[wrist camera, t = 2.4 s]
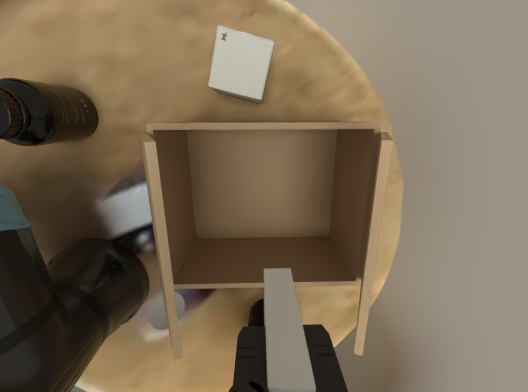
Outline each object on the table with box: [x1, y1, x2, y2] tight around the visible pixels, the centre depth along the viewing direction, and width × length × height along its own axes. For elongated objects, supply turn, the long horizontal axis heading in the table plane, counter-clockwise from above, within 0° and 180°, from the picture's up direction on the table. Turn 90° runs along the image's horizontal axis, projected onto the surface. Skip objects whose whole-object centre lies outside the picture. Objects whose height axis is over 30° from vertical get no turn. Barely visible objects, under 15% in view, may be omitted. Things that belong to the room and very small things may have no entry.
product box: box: [208, 25, 275, 104], centre depth 30 cm, size 6×6×7 cm
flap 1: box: [140, 133, 183, 361], centre depth 21 cm, size 10×16×1 cm
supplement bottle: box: [0, 78, 97, 146], centre depth 28 cm, size 7×7×12 cm
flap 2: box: [354, 132, 393, 356], centre depth 22 cm, size 10×16×1 cm
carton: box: [145, 121, 382, 289], centre depth 32 cm, size 22×18×12 cm
